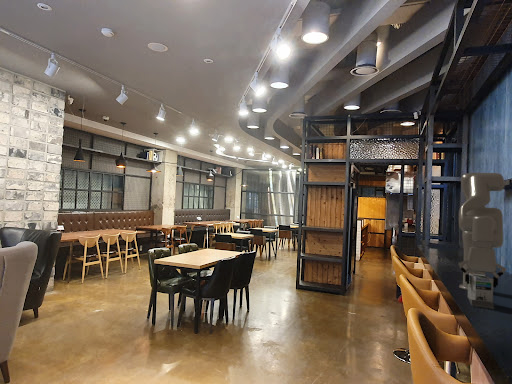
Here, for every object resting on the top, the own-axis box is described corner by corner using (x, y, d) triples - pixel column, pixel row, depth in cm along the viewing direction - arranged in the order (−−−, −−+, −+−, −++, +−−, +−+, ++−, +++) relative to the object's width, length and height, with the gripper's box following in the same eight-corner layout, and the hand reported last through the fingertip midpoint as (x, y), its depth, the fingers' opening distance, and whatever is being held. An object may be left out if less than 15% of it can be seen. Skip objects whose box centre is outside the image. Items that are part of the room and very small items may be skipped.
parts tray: (468, 298, 158) (468, 293, 158) (488, 301, 155) (488, 295, 155) (471, 306, 145) (471, 299, 145) (493, 309, 142) (494, 302, 142)
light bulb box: (493, 305, 144) (494, 278, 145) (474, 303, 146) (475, 277, 147) (484, 299, 155) (484, 274, 155) (466, 297, 156) (467, 272, 157)
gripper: (504, 246, 151) (503, 286, 150) (458, 242, 158) (457, 281, 158) (508, 247, 144) (507, 290, 143) (459, 243, 152) (458, 283, 151)
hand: (481, 285), depth 150 cm, fingers open, 9 cm apart
